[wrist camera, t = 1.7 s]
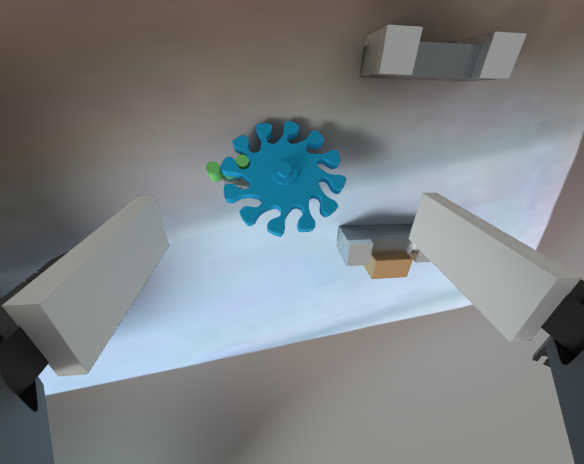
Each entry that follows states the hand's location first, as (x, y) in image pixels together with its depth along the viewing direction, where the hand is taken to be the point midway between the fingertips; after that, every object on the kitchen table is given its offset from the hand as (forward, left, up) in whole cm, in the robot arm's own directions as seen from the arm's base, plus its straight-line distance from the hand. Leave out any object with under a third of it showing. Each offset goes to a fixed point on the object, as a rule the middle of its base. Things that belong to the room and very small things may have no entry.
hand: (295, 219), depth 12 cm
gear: (0, 0, -12) cm, 12 cm away
